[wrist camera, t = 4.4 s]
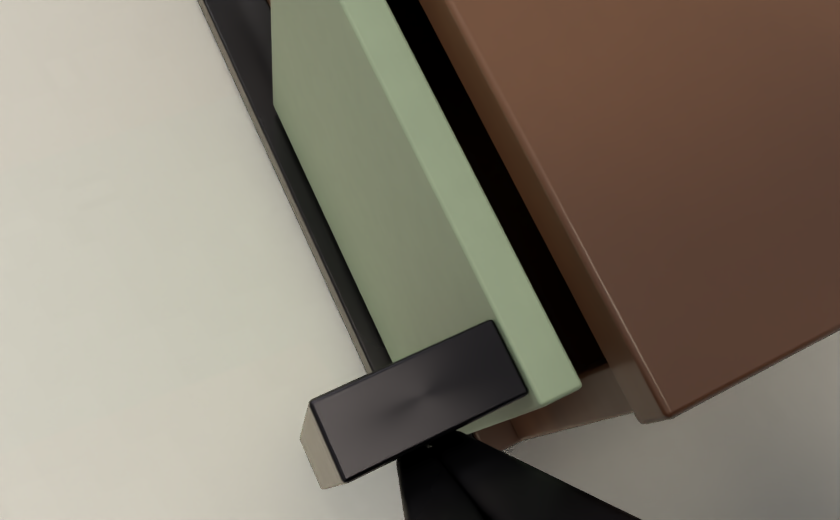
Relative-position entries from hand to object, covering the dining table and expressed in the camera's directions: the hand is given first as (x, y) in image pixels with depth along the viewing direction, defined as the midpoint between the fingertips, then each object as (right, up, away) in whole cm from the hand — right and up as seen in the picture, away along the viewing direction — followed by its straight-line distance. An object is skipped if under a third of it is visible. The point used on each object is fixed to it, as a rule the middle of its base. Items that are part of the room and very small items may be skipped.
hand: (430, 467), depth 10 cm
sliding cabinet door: (-2, +2, +7) cm, 7 cm away
